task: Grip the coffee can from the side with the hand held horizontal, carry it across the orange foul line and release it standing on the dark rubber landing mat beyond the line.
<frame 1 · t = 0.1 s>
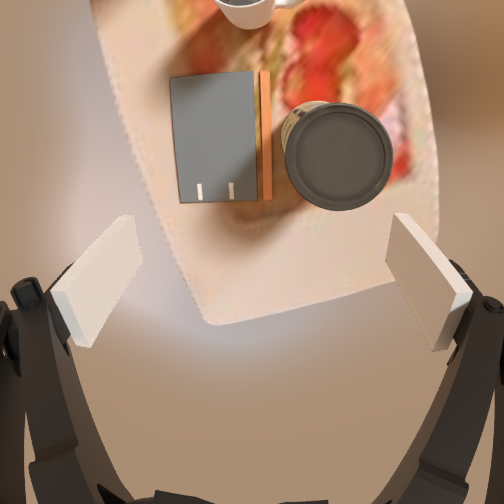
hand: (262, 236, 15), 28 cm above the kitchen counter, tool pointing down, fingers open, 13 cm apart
coffee can: (319, 137, 38), on the kitchen counter
landing mat: (214, 138, 39), on the kitchen counter
mug: (262, 10, 30), on the kitchen counter
foul line: (266, 136, 39), on the kitchen counter
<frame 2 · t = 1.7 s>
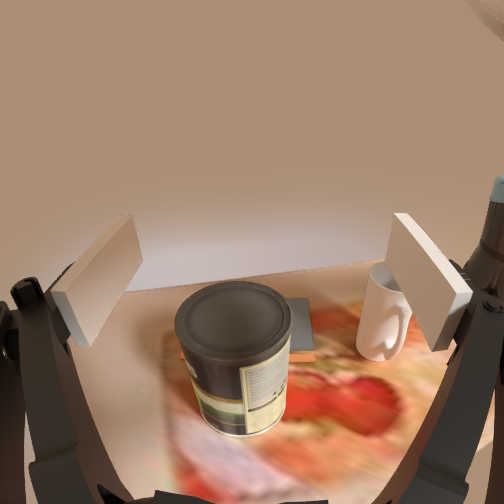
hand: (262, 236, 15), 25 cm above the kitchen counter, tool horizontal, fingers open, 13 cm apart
coffee can: (243, 402, 33), on the kitchen counter
landing mat: (250, 323, 45), on the kitchen counter
mug: (377, 355, 38), on the kitchen counter
foul line: (246, 358, 39), on the kitchen counter
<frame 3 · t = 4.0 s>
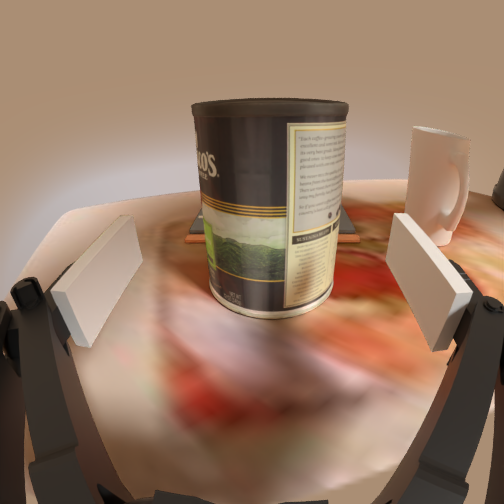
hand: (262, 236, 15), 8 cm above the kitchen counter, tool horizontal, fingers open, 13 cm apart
coffee can: (272, 280, 26), on the kitchen counter
landing mat: (272, 213, 38), on the kitchen counter
mug: (430, 242, 30), on the kitchen counter
foul line: (272, 239, 31), on the kitchen counter
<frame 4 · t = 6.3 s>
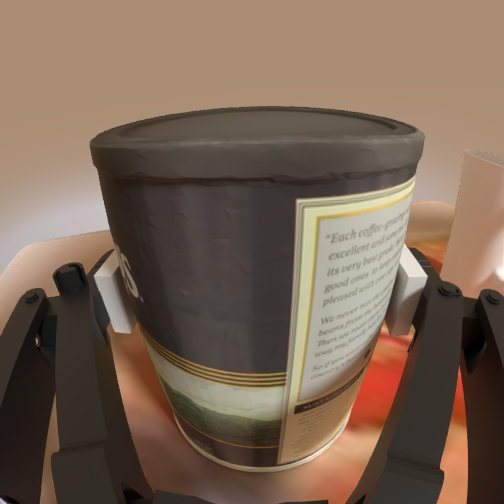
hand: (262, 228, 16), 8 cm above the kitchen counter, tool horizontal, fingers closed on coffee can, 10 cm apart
coffee can: (263, 394, 16), on the kitchen counter, touching gripper
mug: (473, 305, 21), on the kitchen counter
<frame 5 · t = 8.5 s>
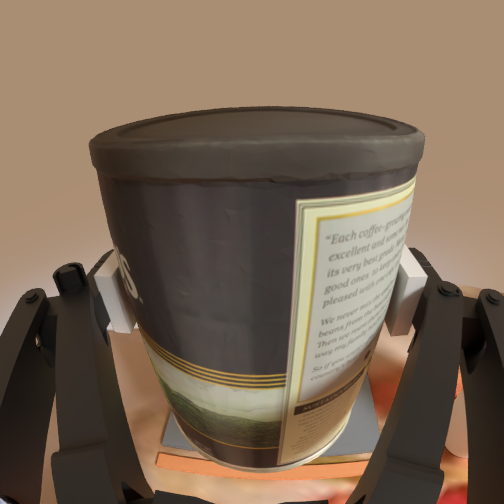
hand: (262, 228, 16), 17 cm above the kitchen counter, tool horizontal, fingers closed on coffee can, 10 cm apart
coffee can: (263, 395, 16), point 9 cm above the kitchen counter, touching gripper
landing mat: (274, 403, 25), on the kitchen counter
mug: (469, 446, 18), on the kitchen counter
foul line: (270, 473, 19), on the kitchen counter
when the fingers open (10 cm above the kitchen counter, at t = 10.9 s): coffee can drops 2 cm, resting on landing mat.
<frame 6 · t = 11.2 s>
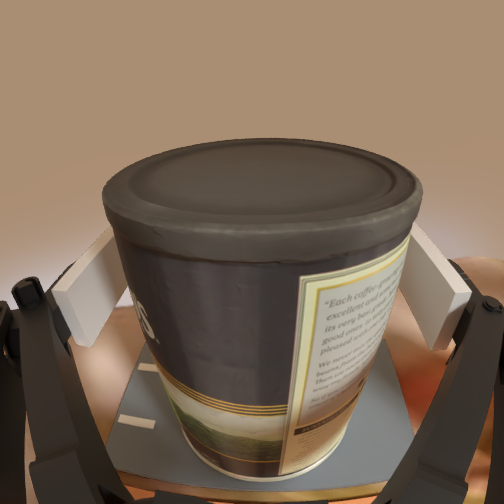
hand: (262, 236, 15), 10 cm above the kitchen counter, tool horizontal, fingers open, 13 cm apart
coffee can: (265, 409, 17), resting on landing mat
landing mat: (262, 410, 17), on the kitchen counter
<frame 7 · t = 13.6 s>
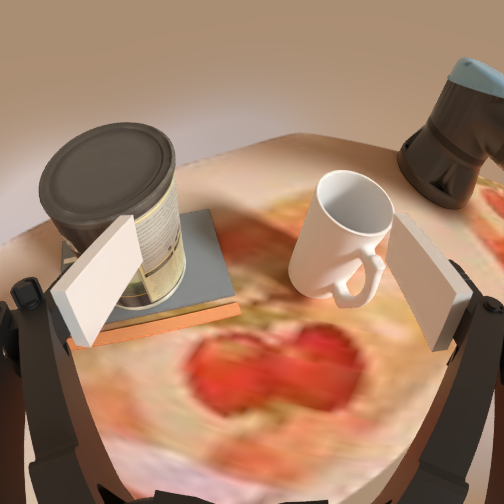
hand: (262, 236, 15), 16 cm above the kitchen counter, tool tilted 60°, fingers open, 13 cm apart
coffee can: (139, 266, 31), resting on landing mat
landing mat: (138, 267, 31), on the kitchen counter
mug: (320, 287, 32), on the kitchen counter
foul line: (148, 329, 28), on the kitchen counter
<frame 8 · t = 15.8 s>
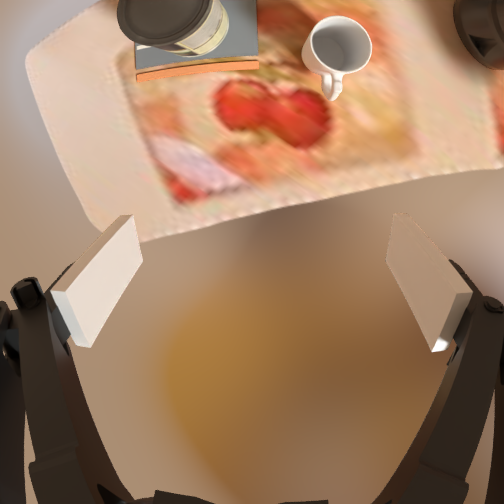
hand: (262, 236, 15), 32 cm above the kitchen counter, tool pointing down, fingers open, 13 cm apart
coffee can: (194, 26, 34), resting on landing mat
landing mat: (193, 26, 34), on the kitchen counter
mug: (322, 66, 37), on the kitchen counter
foul line: (195, 69, 38), on the kitchen counter
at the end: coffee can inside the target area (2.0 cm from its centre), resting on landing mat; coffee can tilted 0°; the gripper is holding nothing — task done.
